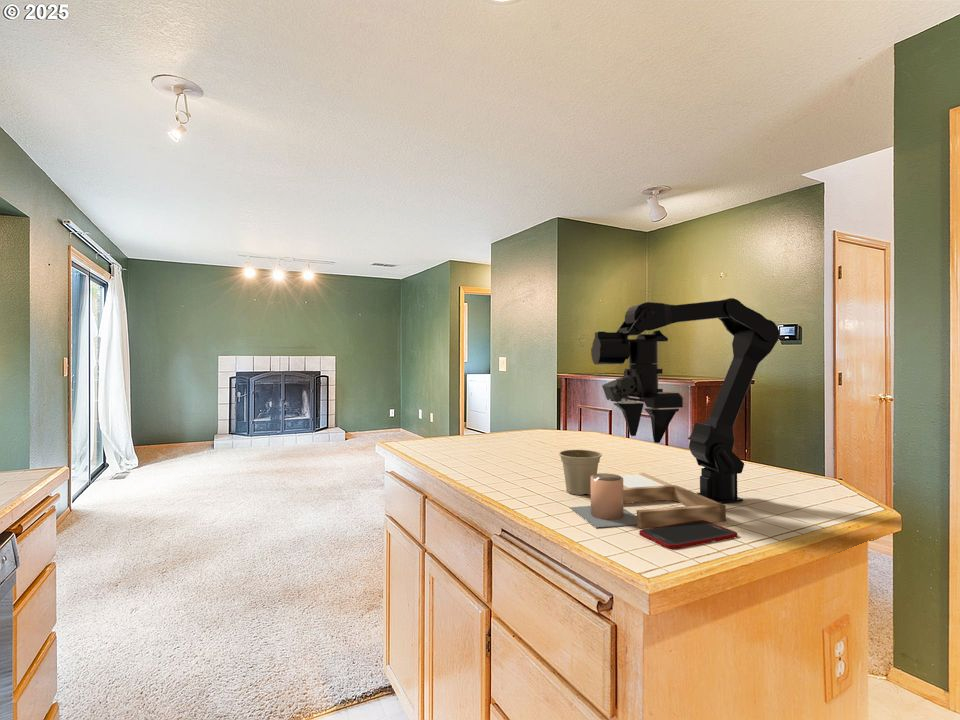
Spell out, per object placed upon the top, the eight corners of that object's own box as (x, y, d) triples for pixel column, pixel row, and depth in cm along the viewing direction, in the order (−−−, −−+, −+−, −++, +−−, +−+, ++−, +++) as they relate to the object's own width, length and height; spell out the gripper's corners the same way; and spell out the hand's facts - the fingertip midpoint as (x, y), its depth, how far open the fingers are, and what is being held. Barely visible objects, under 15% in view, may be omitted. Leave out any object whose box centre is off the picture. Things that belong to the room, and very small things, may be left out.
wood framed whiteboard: (599, 479, 121) (599, 475, 121) (643, 476, 123) (643, 472, 123) (634, 498, 104) (634, 493, 104) (685, 494, 106) (685, 490, 106)
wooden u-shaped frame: (675, 497, 104) (675, 484, 104) (725, 521, 89) (725, 505, 89) (601, 503, 100) (601, 489, 100) (640, 528, 85) (640, 512, 85)
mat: (616, 504, 99) (616, 503, 99) (648, 524, 88) (648, 522, 88) (569, 508, 97) (569, 507, 97) (596, 528, 86) (596, 527, 86)
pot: (614, 509, 96) (613, 472, 96) (629, 518, 90) (629, 479, 90) (585, 510, 95) (585, 473, 95) (599, 520, 89) (599, 481, 89)
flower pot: (603, 498, 104) (602, 458, 104) (558, 496, 106) (557, 456, 106) (601, 487, 113) (601, 450, 113) (560, 485, 115) (559, 449, 115)
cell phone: (636, 536, 83) (636, 530, 83) (703, 524, 88) (703, 519, 88) (670, 552, 76) (670, 546, 76) (740, 538, 81) (740, 533, 81)
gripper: (588, 364, 109) (589, 434, 109) (630, 364, 91) (632, 449, 91) (633, 363, 111) (634, 432, 111) (684, 363, 93) (685, 445, 93)
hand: (644, 439), depth 102 cm, fingers open, 9 cm apart
